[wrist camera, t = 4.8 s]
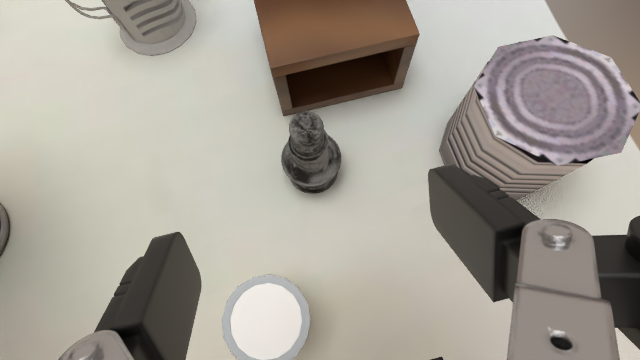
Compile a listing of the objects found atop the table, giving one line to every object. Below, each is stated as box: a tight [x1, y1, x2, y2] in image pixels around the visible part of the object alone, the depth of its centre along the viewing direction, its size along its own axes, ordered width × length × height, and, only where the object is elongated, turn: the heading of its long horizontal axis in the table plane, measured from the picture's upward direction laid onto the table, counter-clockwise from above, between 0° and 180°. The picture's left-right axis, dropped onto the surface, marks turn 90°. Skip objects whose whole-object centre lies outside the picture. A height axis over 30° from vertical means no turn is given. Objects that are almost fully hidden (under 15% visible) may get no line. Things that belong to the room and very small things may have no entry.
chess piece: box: [281, 111, 341, 193], centre depth 33 cm, size 6×6×12 cm
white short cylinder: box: [222, 274, 310, 360], centre depth 31 cm, size 7×7×7 cm
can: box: [439, 36, 640, 200], centre depth 33 cm, size 11×11×12 cm
